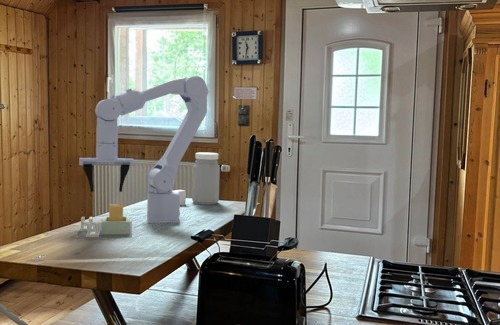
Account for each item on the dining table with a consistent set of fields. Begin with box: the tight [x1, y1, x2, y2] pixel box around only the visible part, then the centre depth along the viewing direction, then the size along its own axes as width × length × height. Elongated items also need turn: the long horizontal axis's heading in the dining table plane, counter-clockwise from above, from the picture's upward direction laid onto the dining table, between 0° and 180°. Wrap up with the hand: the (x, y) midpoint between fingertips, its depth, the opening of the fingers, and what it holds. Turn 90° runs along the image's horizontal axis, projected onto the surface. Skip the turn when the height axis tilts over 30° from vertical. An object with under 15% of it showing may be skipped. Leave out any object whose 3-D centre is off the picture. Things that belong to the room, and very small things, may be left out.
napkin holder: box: [173, 189, 187, 206], centre depth 174 cm, size 15×11×6 cm
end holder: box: [101, 215, 131, 235], centre depth 132 cm, size 7×7×3 cm
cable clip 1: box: [79, 216, 94, 232], centre depth 132 cm, size 3×3×3 cm
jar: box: [191, 151, 221, 206], centre depth 181 cm, size 10×10×18 cm
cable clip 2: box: [86, 221, 100, 237], centre depth 126 cm, size 3×3×3 cm
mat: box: [76, 221, 133, 240], centre depth 133 cm, size 13×18×1 cm
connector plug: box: [108, 203, 124, 221], centre depth 132 cm, size 3×3×6 cm
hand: (106, 191), depth 141 cm, fingers open, 7 cm apart
